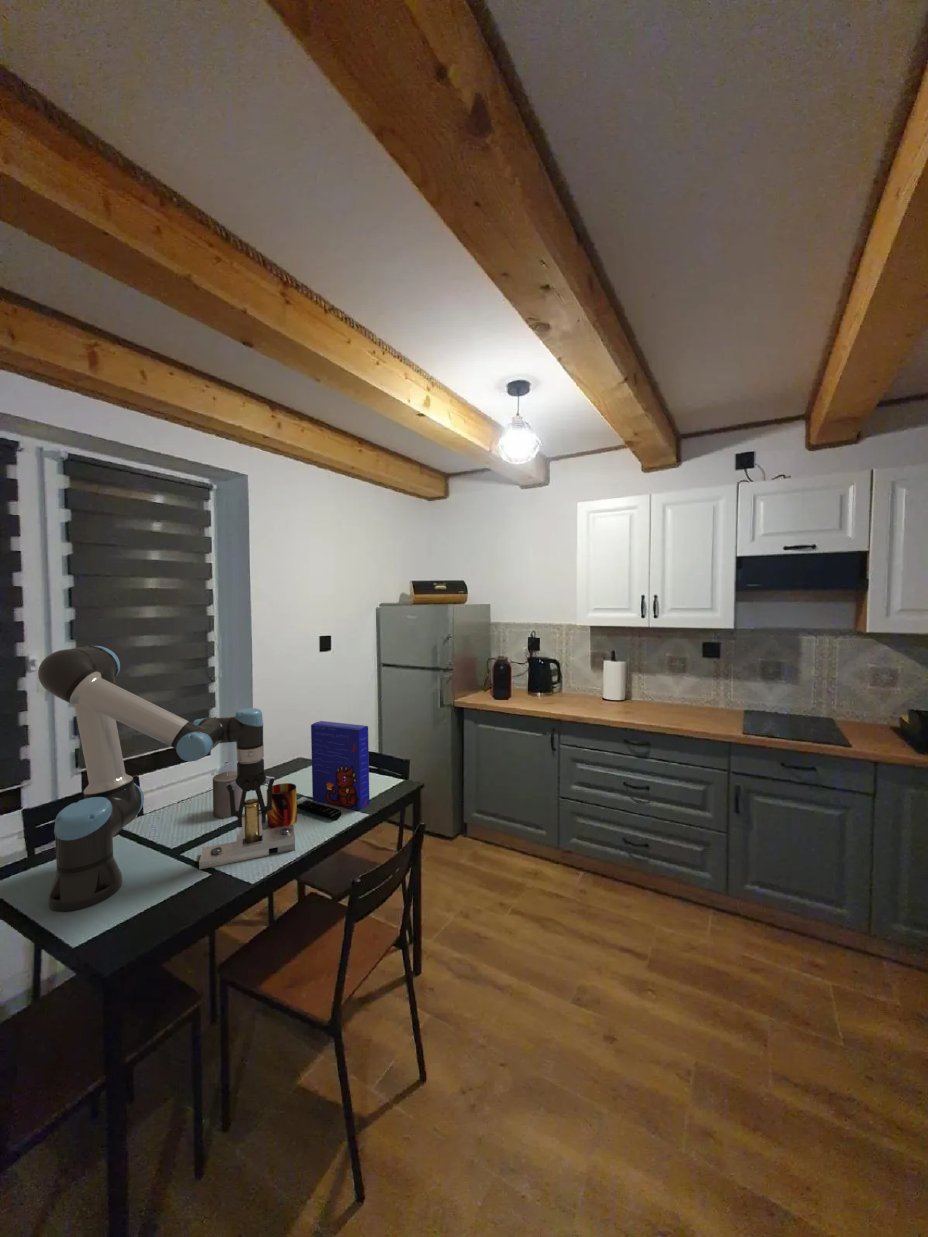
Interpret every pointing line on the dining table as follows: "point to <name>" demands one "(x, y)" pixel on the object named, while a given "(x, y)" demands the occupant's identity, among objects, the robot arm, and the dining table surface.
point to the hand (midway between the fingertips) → (252, 835)
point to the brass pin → (251, 821)
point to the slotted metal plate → (248, 847)
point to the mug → (282, 806)
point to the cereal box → (340, 764)
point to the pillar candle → (224, 794)
